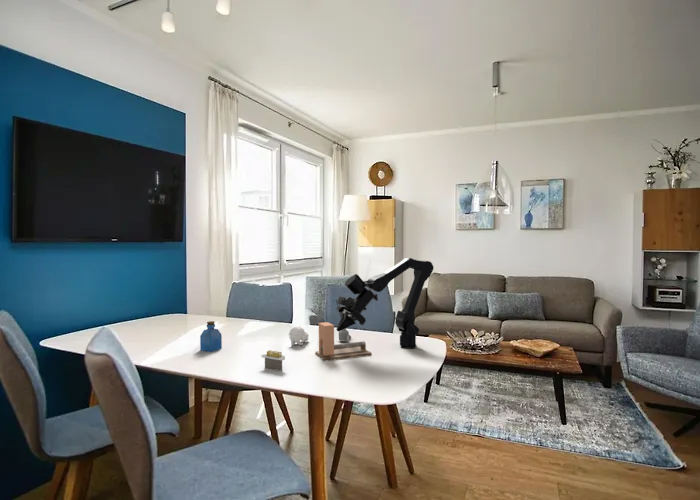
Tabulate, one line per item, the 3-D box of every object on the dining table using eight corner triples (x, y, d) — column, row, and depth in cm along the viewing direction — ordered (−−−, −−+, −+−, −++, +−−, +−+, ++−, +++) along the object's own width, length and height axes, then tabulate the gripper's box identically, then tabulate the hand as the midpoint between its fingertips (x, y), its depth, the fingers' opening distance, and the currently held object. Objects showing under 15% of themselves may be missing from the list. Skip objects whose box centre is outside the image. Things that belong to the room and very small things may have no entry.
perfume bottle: (200, 350, 181) (200, 322, 181) (211, 347, 187) (211, 320, 187) (210, 352, 179) (210, 323, 178) (221, 348, 184) (221, 321, 184)
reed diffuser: (344, 344, 192) (344, 300, 191) (330, 342, 195) (330, 299, 194) (353, 339, 201) (353, 297, 200) (340, 337, 204) (340, 296, 203)
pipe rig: (360, 348, 183) (360, 337, 183) (371, 355, 173) (371, 343, 173) (315, 353, 175) (315, 342, 175) (324, 360, 165) (324, 348, 165)
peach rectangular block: (327, 350, 175) (327, 322, 175) (334, 354, 168) (334, 325, 168) (318, 351, 173) (318, 322, 173) (324, 355, 167) (324, 326, 167)
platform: (266, 362, 165) (266, 345, 165) (304, 368, 156) (304, 351, 156) (245, 370, 154) (244, 352, 154) (284, 378, 146) (284, 359, 146)
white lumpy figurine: (288, 326, 189) (301, 323, 200) (287, 345, 189) (300, 341, 200) (300, 327, 187) (312, 324, 198) (299, 346, 186) (312, 343, 197)
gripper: (340, 286, 183) (316, 314, 179) (358, 291, 166) (332, 322, 162) (356, 303, 186) (334, 330, 182) (376, 309, 169) (351, 340, 165)
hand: (337, 330), depth 173 cm, fingers closed
